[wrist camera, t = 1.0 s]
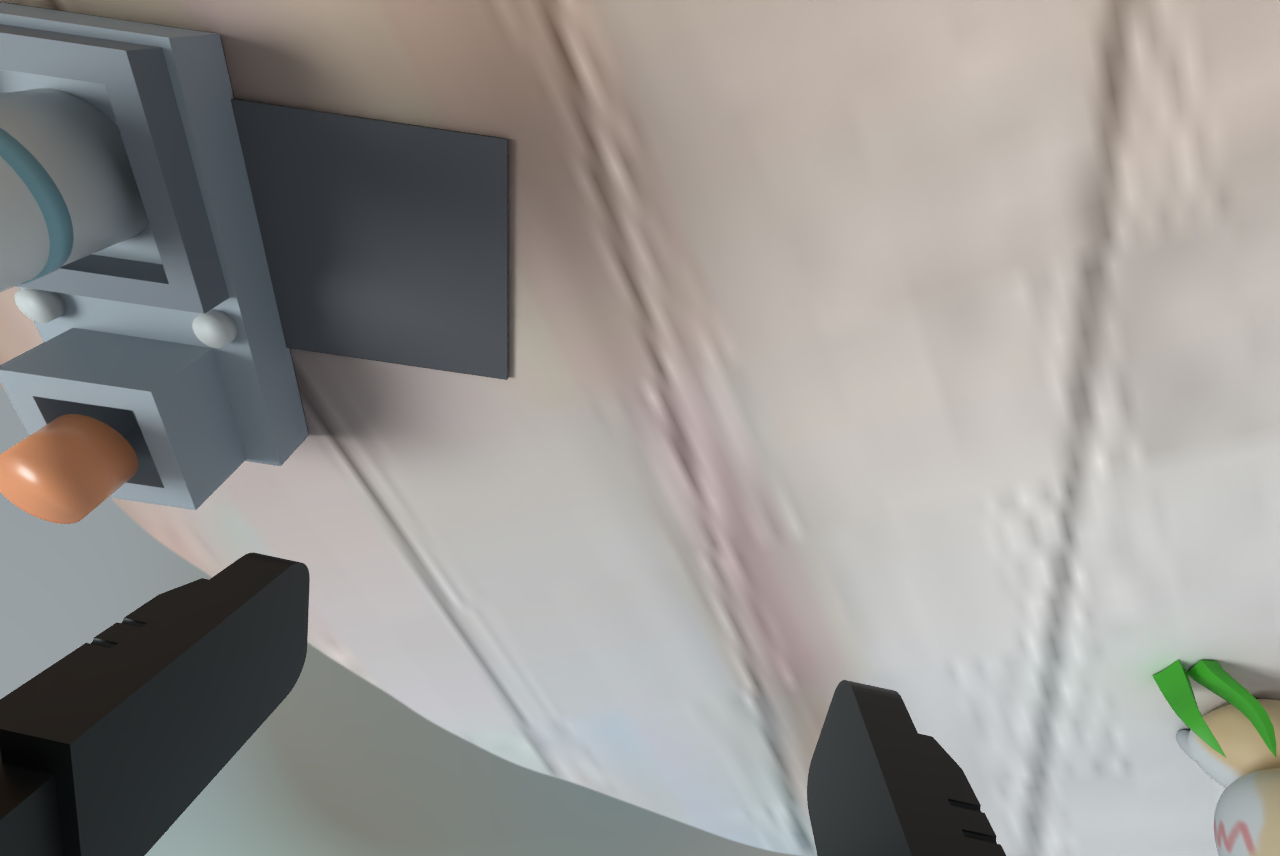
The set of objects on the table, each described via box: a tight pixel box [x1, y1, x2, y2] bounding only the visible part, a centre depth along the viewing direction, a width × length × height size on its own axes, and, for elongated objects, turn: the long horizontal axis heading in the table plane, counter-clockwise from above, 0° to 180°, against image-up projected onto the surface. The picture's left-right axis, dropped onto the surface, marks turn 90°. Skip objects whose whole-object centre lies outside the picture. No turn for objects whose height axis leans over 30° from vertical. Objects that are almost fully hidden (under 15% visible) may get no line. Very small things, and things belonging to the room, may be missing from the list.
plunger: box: [0, 414, 138, 524], centre depth 23 cm, size 3×3×2 cm
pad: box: [231, 99, 508, 380], centre depth 25 cm, size 10×10×1 cm
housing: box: [0, 2, 308, 510], centre depth 24 cm, size 17×9×6 cm, turn 173°
